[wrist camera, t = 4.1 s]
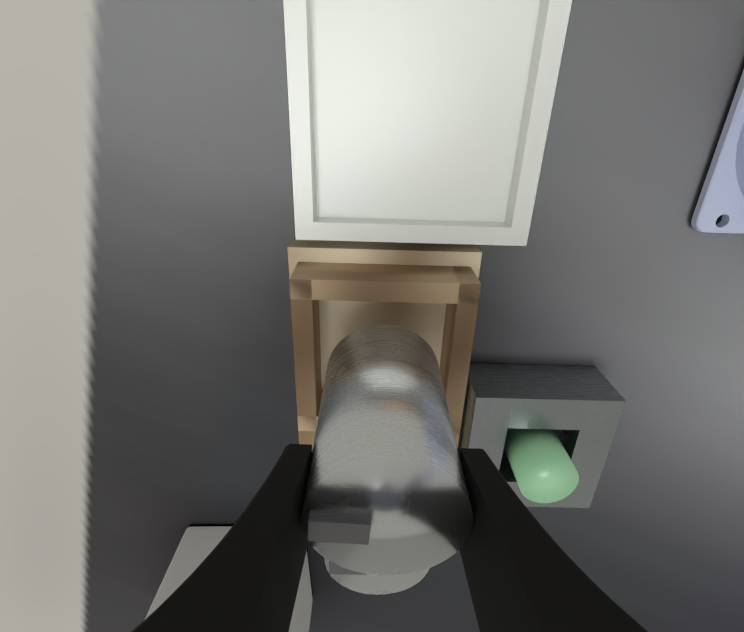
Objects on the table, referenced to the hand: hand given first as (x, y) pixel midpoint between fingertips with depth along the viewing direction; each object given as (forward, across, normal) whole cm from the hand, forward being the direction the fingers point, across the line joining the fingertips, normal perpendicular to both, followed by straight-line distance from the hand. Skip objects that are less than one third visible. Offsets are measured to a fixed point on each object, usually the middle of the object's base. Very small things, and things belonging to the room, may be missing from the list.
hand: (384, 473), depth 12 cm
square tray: (+9, -1, -9) cm, 13 cm away
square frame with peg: (+9, -7, +5) cm, 13 cm away
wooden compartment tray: (+9, 0, +3) cm, 9 cm away
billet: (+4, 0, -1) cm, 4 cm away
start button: (+8, -7, +5) cm, 12 cm away
